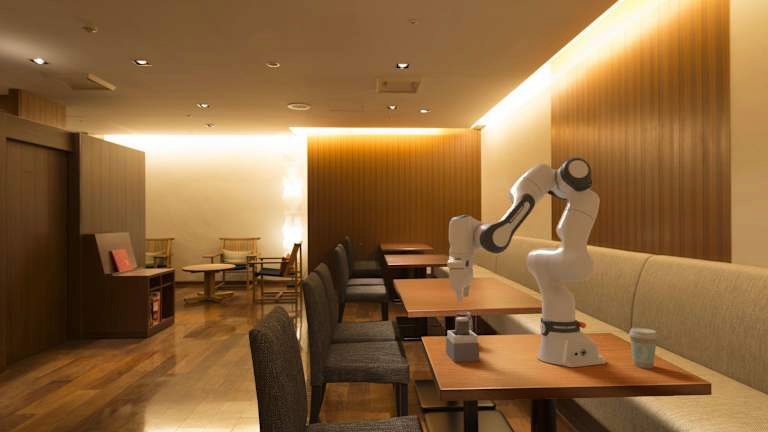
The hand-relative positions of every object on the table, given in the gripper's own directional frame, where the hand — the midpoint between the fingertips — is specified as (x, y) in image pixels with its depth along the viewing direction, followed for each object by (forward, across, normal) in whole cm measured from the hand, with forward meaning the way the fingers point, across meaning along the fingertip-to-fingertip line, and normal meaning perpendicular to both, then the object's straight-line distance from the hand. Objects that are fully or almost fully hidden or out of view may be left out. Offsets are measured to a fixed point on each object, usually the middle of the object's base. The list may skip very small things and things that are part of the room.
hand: (463, 298), depth 168 cm
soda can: (+21, -18, -5) cm, 28 cm away
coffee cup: (+23, -13, +58) cm, 64 cm away
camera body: (+21, +1, -1) cm, 21 cm away
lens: (+15, +1, -1) cm, 15 cm away
